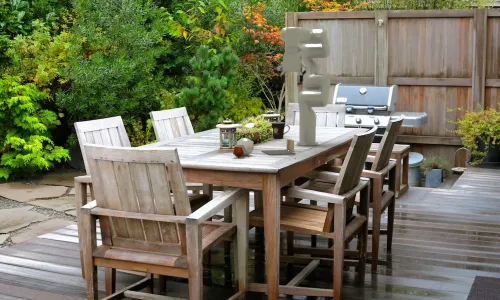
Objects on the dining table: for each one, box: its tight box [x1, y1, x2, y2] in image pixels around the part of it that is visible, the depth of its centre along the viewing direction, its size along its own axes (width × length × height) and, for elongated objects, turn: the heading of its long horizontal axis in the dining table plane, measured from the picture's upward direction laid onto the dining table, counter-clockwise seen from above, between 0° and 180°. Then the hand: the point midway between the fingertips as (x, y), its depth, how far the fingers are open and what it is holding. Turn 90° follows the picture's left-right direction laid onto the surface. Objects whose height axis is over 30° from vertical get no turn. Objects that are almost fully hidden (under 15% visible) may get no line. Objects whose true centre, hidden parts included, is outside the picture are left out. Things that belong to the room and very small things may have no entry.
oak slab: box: [286, 138, 295, 152], centre depth 392 cm, size 7×2×6 cm, turn 15°
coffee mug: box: [270, 121, 291, 140], centre depth 448 cm, size 12×9×10 cm
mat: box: [261, 149, 296, 156], centre depth 382 cm, size 16×14×1 cm
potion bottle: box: [232, 137, 255, 159], centre depth 370 cm, size 9×10×15 cm
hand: (292, 82), depth 381 cm, fingers open, 9 cm apart
